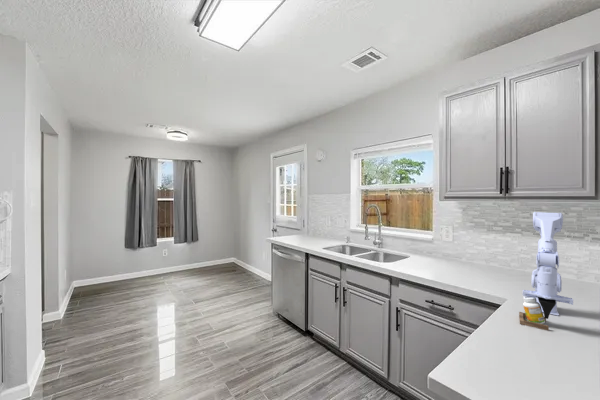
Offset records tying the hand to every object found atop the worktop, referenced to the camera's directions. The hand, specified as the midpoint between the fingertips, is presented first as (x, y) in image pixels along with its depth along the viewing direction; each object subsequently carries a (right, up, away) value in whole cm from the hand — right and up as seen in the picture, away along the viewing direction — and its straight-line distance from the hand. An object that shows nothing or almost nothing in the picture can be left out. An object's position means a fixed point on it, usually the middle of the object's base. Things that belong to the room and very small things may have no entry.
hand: (546, 317), depth 105 cm
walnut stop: (-2, -3, +2) cm, 4 cm away
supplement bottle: (-2, -3, +2) cm, 4 cm away
